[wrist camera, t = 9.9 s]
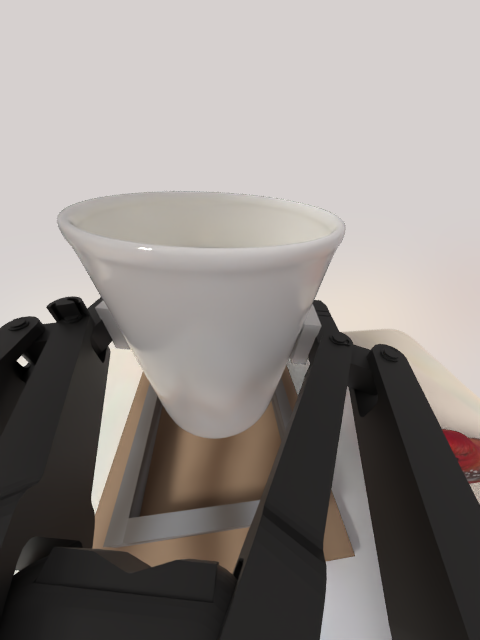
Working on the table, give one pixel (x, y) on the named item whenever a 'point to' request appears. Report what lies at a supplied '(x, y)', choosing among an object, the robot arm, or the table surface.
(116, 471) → the brown square wooden tray
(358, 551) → the table surface
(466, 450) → the decorative bird figurine
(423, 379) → the table surface
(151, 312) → the candle holder
